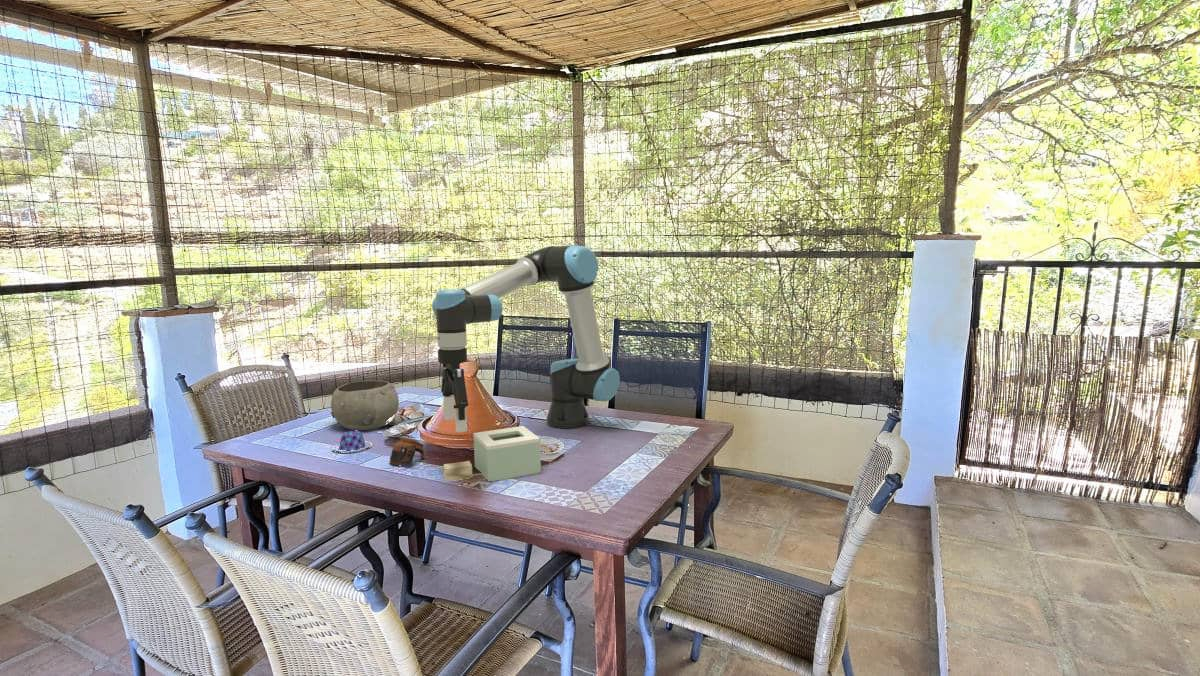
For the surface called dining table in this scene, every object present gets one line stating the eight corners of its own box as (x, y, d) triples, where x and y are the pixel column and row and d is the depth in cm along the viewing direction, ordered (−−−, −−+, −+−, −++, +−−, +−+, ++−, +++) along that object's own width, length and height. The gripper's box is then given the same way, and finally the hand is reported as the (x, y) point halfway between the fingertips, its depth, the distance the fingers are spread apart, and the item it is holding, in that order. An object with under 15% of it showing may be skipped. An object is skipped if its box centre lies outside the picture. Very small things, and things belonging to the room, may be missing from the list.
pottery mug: (384, 462, 182) (394, 436, 185) (414, 471, 186) (423, 445, 189) (392, 464, 172) (403, 435, 175) (424, 473, 176) (434, 445, 179)
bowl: (344, 417, 232) (341, 379, 229) (406, 415, 234) (403, 377, 232) (323, 435, 209) (320, 392, 207) (392, 432, 211) (389, 390, 209)
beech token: (469, 474, 171) (469, 460, 170) (472, 479, 167) (471, 465, 166) (444, 478, 168) (443, 464, 167) (446, 483, 164) (445, 469, 164)
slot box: (524, 458, 183) (523, 425, 182) (540, 472, 171) (539, 438, 169) (474, 466, 177) (473, 433, 175) (488, 482, 164) (487, 446, 163)
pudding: (326, 455, 189) (325, 439, 188) (340, 443, 201) (339, 428, 200) (365, 454, 190) (364, 437, 189) (377, 442, 202) (376, 427, 201)
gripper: (428, 342, 172) (431, 416, 175) (448, 355, 150) (451, 439, 152) (455, 341, 175) (457, 413, 178) (478, 353, 153) (481, 435, 156)
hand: (455, 425), depth 165 cm, fingers open, 13 cm apart
